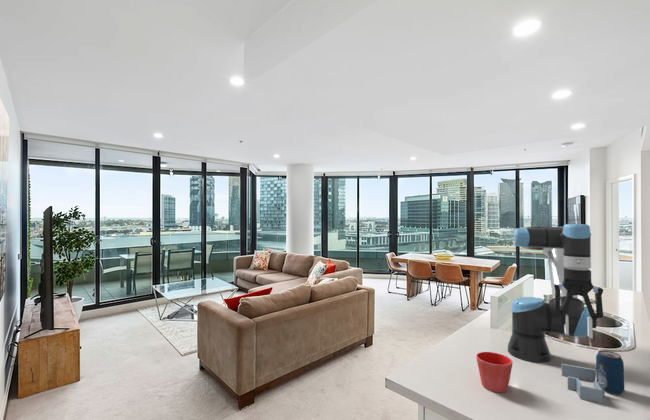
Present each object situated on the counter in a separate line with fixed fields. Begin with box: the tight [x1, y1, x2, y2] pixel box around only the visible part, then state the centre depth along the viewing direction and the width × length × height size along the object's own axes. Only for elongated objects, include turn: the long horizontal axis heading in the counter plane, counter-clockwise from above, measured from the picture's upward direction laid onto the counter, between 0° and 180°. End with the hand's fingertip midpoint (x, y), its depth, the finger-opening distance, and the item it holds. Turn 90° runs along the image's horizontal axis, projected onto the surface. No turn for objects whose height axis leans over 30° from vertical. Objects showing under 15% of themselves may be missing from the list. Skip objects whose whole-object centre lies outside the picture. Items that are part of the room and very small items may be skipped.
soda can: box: [595, 349, 625, 395], centre depth 106 cm, size 7×7×12 cm
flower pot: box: [475, 351, 514, 393], centre depth 109 cm, size 11×11×10 cm
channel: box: [560, 363, 606, 404], centre depth 107 cm, size 10×16×4 cm, turn 152°
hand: (578, 335), depth 110 cm, fingers open, 6 cm apart
